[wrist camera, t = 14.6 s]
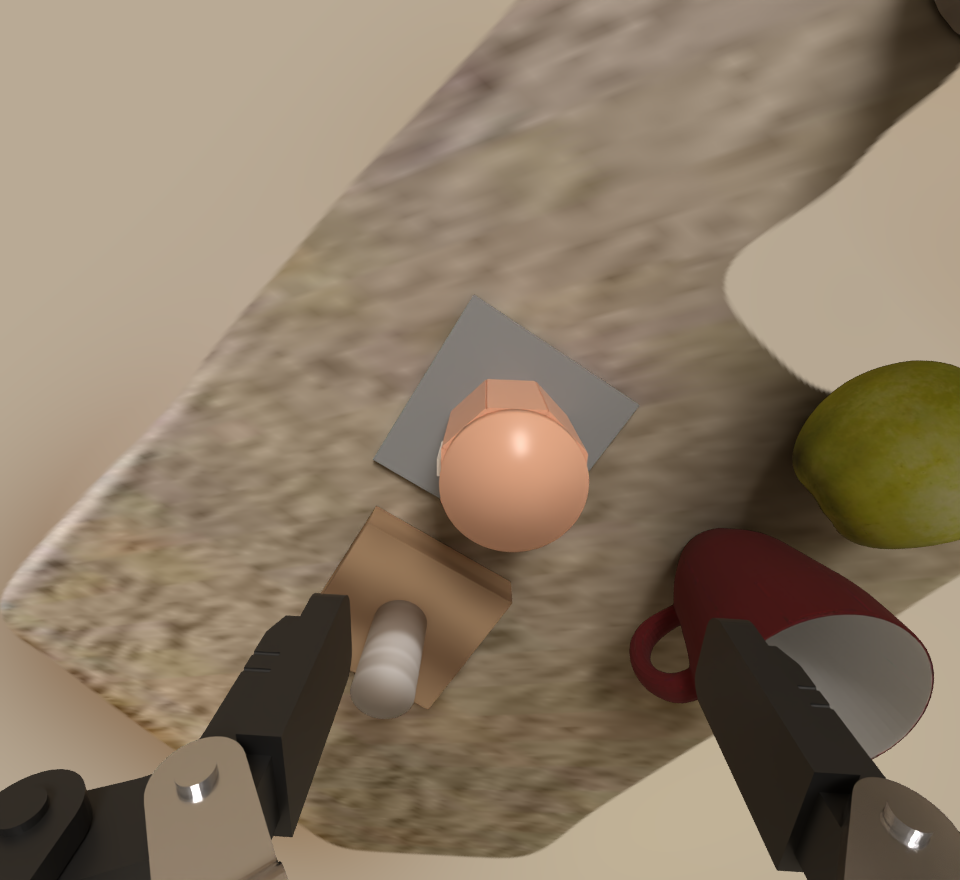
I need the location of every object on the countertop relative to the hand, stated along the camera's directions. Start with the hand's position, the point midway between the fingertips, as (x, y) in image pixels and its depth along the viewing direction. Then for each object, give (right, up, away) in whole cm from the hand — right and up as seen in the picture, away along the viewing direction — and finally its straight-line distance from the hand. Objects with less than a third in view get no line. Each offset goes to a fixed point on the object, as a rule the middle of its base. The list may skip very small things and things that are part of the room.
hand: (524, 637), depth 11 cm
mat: (0, +5, +15) cm, 16 cm away
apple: (+18, +5, +15) cm, 24 cm away
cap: (0, +5, +15) cm, 16 cm away
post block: (-5, -5, +19) cm, 20 cm away
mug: (+11, -3, +18) cm, 22 cm away
